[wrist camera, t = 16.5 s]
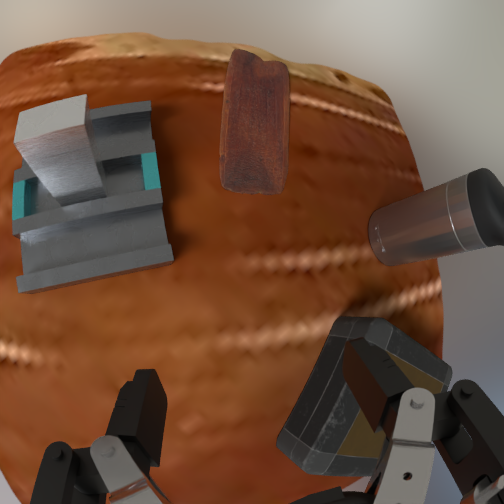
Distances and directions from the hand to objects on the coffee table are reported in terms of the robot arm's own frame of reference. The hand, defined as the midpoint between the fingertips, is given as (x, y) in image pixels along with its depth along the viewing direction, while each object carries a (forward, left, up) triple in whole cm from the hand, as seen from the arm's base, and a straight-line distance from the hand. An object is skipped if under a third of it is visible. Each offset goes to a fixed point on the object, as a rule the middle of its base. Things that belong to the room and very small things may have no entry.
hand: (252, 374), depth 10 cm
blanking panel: (+8, -16, -16) cm, 24 cm away
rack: (+8, -16, -18) cm, 25 cm away
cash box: (-21, +19, -18) cm, 34 cm away
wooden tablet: (-14, -25, -19) cm, 35 cm away
